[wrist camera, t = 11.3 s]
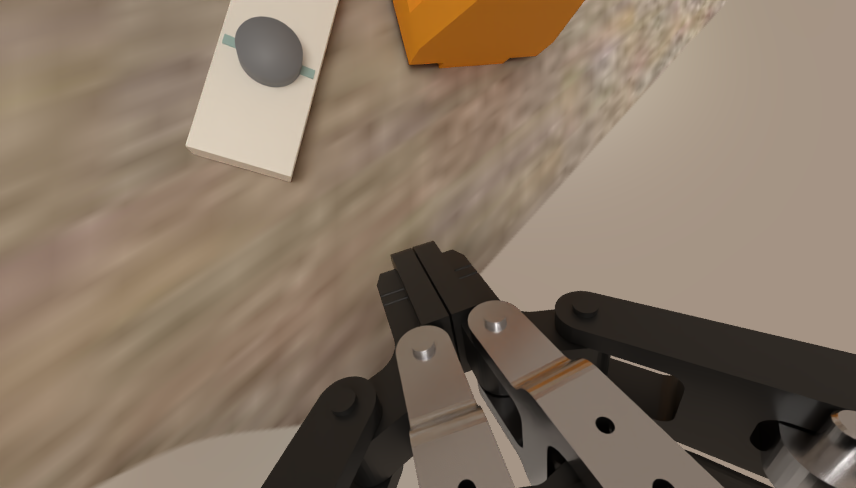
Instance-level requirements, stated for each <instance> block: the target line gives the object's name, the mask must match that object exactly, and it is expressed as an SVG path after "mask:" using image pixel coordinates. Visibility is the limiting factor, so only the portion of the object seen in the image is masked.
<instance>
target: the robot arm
mask: <svg viewBox="0 0 856 488" xmlns="http://www.w3.org/2000/svg"><path fill="white" fill-rule="evenodd" d="M391 260H392V263H393V266H394V270H391V271H388V272H385V273H382V274H380V276H379V280H378V283H377V287H378V290H379V294H380V297H381V300H382V303H383V306H384V309H385V312H386V315H387V319H388V322H389V325H390V328H391V331H392V334H393V337H394V341H395V350H394V354H393V356H392V358H391V360H390V361H389V363H388V364H387V365H386V366H385V367H384V368H383V369H382V370H381V371H380V372H379V373H377V374H376V375H374V376H373V377H372V378H370V379H369V380H366V379H365V378H362V377H356V376H354V377H346V378H343V379H340V380H338V381H336V382H335V383H333V384H332V385H330V386H329V387H328V388H327V389H326V390H325V391H324V392H323V393H322V394H321V396H320V397H319V399H318V400H317V402H316V403H315V405H314V406H313V408H312V409H311V411H310V412H309V414H308V416H307V417H306V419H305V420H304V422H303V423H302V425H301V426H300V428H299V430H298V431H297V433H296V434H295V436H294V437H293V439H292V440H291V442H290V444H289V445H288V447H287V448H286V450H285V451H284V453H283V454H282V456H281V457H280V459H279V461H278V462H277V464H276V465H275V467H274V468H273V470H272V471H271V473H270V475H269V476H268V478H267V479H266V481H265V482H264V484H263V485H262V487H261V488H396V487H397V485H398V482H399V479H400V476H401V474H402V470H403V464H404V463H406V462H407V461H408V460H409V459H410V458H411V457H412V456H413V457H414V462H415V467H416V472H417V478H418V483H419V487H420V488H515V486H514V484H513V482H512V479H511V476H510V474H509V472H508V469H507V467H506V465H505V462H504V459H503V457H502V455H501V452H500V450H499V447H498V445H497V443H496V440H495V438H494V435H493V433H492V430H491V428H490V426H489V423H488V421H487V418H486V416H485V414H484V412H483V410H482V408H481V407H480V406H478V405H477V403H476V401H475V399H474V396H473V394H472V392H471V389H470V386H469V384H468V381H467V379H466V376H465V374H464V373H465V372H468V371H470V370H472V371H473V373H474V374H475V376H476V378H477V381H478V386H479V391H480V394H481V396H482V398H483V399H484V401H485V402H486V404H487V406H488V407H489V409H490V410H491V412H492V414H493V415H494V417H495V418H496V419H497V422H498V423H499V425H500V426H501V428H502V430H503V431H504V433H505V434H506V436H507V438H508V439H509V441H510V442H511V444H512V445H513V447H514V449H515V450H516V452H517V454H518V455H519V457H520V460H521V462H522V464H523V466H524V469H525V472H526V475H527V477H528V479H529V481H530V483H531V485H532V486H528V487H521V488H773V487H770V486H768V485H766V484H764V483H761V482H759V481H757V480H754V479H752V478H750V477H748V476H745V475H743V474H741V473H739V472H736V471H734V470H732V469H730V468H727V467H725V466H723V465H720V464H718V463H716V462H714V461H711V460H709V459H707V458H705V457H702V456H700V455H698V454H695V453H692V452H690V451H687V450H684V449H683V448H682V447H680V445H678V444H677V443H676V442H679V443H681V444H684V445H686V446H689V447H691V448H694V449H696V450H699V451H701V452H703V453H706V454H708V455H711V456H713V457H716V458H718V459H721V460H723V461H726V462H728V463H731V464H733V465H735V466H738V467H740V468H743V469H745V470H748V471H750V472H753V473H755V474H758V475H760V476H763V477H765V478H768V479H769V480H770V482H771V483H772V484H773V486H774V487H775V488H856V354H852V353H848V352H844V351H839V350H834V349H830V348H827V347H822V346H818V345H814V344H810V343H805V342H801V341H797V340H792V339H788V338H784V337H780V336H775V335H771V334H767V333H763V332H758V331H754V330H750V329H746V328H741V327H737V326H733V325H729V324H724V323H720V322H716V321H711V320H707V319H703V318H698V317H694V316H690V315H686V314H682V313H677V312H673V311H669V310H665V309H660V308H656V307H652V306H647V305H643V304H639V303H634V302H631V301H626V300H622V299H617V298H613V297H609V296H605V295H601V294H596V293H592V292H586V291H576V292H571V293H567V294H565V295H563V296H561V297H560V298H559V299H558V300H557V302H556V305H555V310H546V311H537V312H523V311H520V310H519V309H518V308H517V307H516V306H514V305H512V304H510V303H508V302H505V301H500V300H499V299H498V297H497V296H496V295H495V294H494V292H493V291H492V290H491V288H489V286H488V285H487V283H486V282H485V281H484V280H483V278H482V277H481V276H480V275H479V273H477V271H476V270H475V268H474V267H473V266H472V265H471V263H470V262H469V261H468V260H467V258H466V257H465V256H464V255H462V254H460V253H458V252H456V251H454V250H450V251H447V252H444V253H442V252H441V251H440V249H439V248H438V247H437V245H436V244H435V242H434V241H431V242H428V243H425V244H421V245H418V246H415V247H413V248H410V249H407V250H404V251H401V252H397V253H394V254H391ZM611 355H612V356H615V357H618V358H621V359H624V360H627V361H630V362H633V363H637V364H640V365H643V366H646V367H649V368H652V369H655V370H658V371H662V372H665V373H668V374H670V376H668V375H662V374H658V373H655V372H652V371H649V370H646V369H643V368H640V367H636V366H633V365H630V364H627V363H624V362H621V361H618V360H615V359H612V358H610V356H611ZM675 441H676V442H675Z"/></svg>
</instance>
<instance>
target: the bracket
mask: <svg viewBox="0 0 856 488" xmlns="http://www.w3.org/2000/svg"><path fill="white" fill-rule="evenodd" d="M584 1H585V0H393V4H394V8H395V11H396V15H397V19H398V23H399V27H400V31H401V35H402V39H403V43H404V46H405V50H406V54H407V58H408V62H409V65H417V64H431V63H438V66H439V68H450V67H463V66H475V65H488V64H501V63H504V62H505V61H506V60H508V59H509V58H516V57H530V56H537V55H538V54H539V53H540V52H542V51H543V50H544V49H545V48H547V47H548V46H549V45H550V44H551V43H553V42H554V40H555V39H556V38H557V36H558V35H559V34H560V32H561V31H562V30H563V29H564V27H565V26H566V25H567V23H568V22H569V21H570V19H571V18H572V17H573V15H574V14H575V13H576V11H577V10H578V9H579V7H580V6H581V5H582V3H583V2H584Z"/></svg>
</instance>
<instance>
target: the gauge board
mask: <svg viewBox="0 0 856 488" xmlns="http://www.w3.org/2000/svg"><path fill="white" fill-rule="evenodd" d="M338 4H339V0H231V1H230V5H229V8H228V11H227V14H226V17H225V21H224V24H223V27H222V30H221V33H220V37H219V40H218V43H217V46H216V49H215V53H214V56H213V59H212V62H211V65H210V69H209V72H208V75H207V78H206V81H205V85H204V88H203V91H202V94H201V97H200V101H199V104H198V107H197V110H196V113H195V117H194V120H193V123H192V126H191V129H190V133H189V136H188V139H187V142H186V145H185V146H186V147H187V148H188V149H189V150H190V151H191V152H192V154H194V155H198V156H201V157H205V158H208V159H212V160H215V161H219V162H222V163H226V164H229V165H232V166H236V167H239V168H243V169H246V170H250V171H253V172H257V173H260V174H264V175H267V176H271V177H274V178H278V179H281V180H285V181H288V182H291V179H292V175H293V172H294V168H295V164H296V161H297V157H298V153H299V149H300V146H301V142H302V138H303V134H304V131H305V127H306V123H307V120H308V116H309V112H310V108H311V105H312V101H313V97H314V93H315V90H316V86H317V82H318V78H319V75H320V71H321V67H322V64H323V60H324V56H325V52H326V49H327V45H328V41H329V37H330V34H331V30H332V26H333V23H334V19H335V15H336V11H337V8H338Z"/></svg>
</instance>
